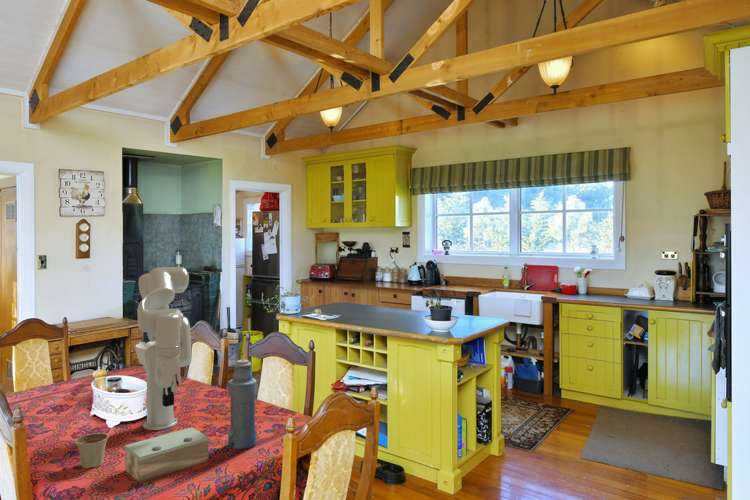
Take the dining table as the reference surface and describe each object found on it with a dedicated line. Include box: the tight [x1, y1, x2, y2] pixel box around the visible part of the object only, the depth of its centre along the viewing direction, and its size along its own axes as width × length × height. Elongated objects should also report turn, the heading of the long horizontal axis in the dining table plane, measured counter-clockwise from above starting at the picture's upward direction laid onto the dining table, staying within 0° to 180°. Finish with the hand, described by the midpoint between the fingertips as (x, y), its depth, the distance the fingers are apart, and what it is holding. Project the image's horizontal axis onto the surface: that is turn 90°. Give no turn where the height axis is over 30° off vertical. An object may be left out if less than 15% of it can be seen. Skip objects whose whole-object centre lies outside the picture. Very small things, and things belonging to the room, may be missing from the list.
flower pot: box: [74, 432, 110, 469], centre depth 167 cm, size 9×9×9 cm
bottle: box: [227, 359, 258, 450], centre depth 182 cm, size 10×10×30 cm
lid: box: [124, 427, 210, 460], centre depth 165 cm, size 12×22×1 cm, turn 135°
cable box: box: [124, 440, 210, 484], centre depth 166 cm, size 12×22×7 cm, turn 135°
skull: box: [134, 340, 156, 370], centre depth 248 cm, size 25×19×23 cm
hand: (168, 405), depth 171 cm, fingers closed
